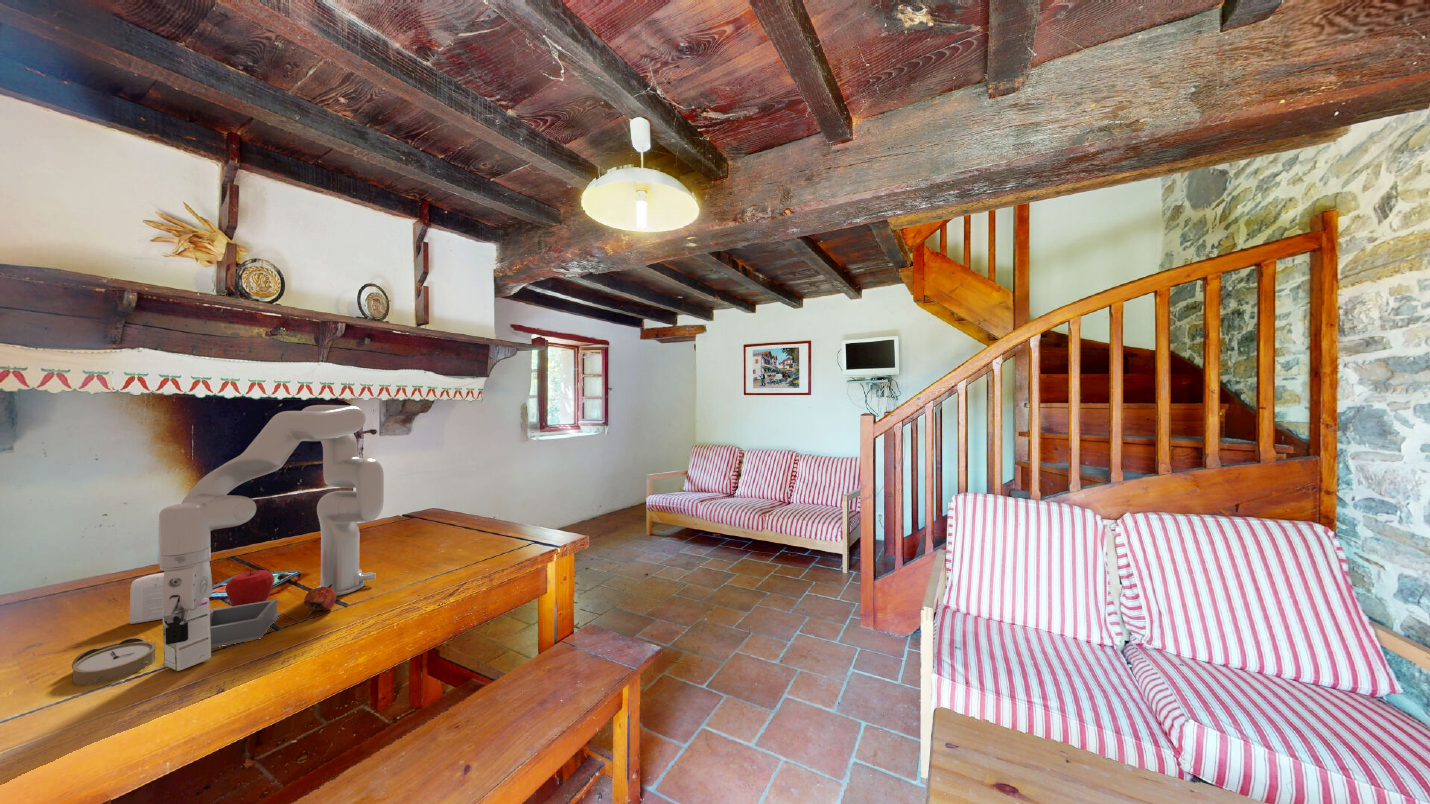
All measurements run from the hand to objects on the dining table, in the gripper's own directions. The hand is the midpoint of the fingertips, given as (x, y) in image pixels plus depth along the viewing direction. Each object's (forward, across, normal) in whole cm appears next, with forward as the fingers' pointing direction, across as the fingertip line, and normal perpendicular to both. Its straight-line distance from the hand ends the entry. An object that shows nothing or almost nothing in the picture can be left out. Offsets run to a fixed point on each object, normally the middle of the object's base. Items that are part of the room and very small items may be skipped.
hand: (187, 632), depth 103 cm
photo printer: (+8, +34, +17) cm, 39 cm away
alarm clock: (+8, +6, +14) cm, 17 cm away
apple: (+8, +32, -2) cm, 33 cm away
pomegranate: (+8, +18, -20) cm, 28 cm away
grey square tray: (+8, +14, -4) cm, 16 cm away
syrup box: (+7, 0, 0) cm, 7 cm away
